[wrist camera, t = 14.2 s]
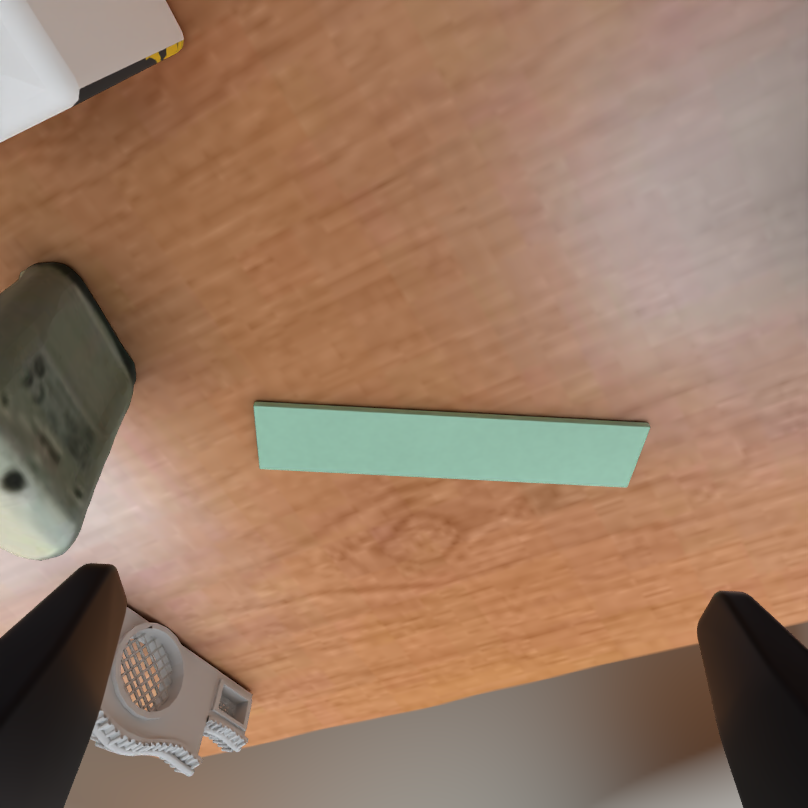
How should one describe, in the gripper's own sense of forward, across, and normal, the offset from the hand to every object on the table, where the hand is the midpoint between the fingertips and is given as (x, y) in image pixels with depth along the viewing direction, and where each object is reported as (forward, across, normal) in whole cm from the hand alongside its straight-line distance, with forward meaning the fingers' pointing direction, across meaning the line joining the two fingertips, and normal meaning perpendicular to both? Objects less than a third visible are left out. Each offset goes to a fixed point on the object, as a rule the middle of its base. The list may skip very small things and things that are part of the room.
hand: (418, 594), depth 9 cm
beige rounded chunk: (+13, +11, +4) cm, 18 cm away
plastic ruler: (+13, -2, +8) cm, 15 cm away
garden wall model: (+13, +11, +23) cm, 29 cm away
